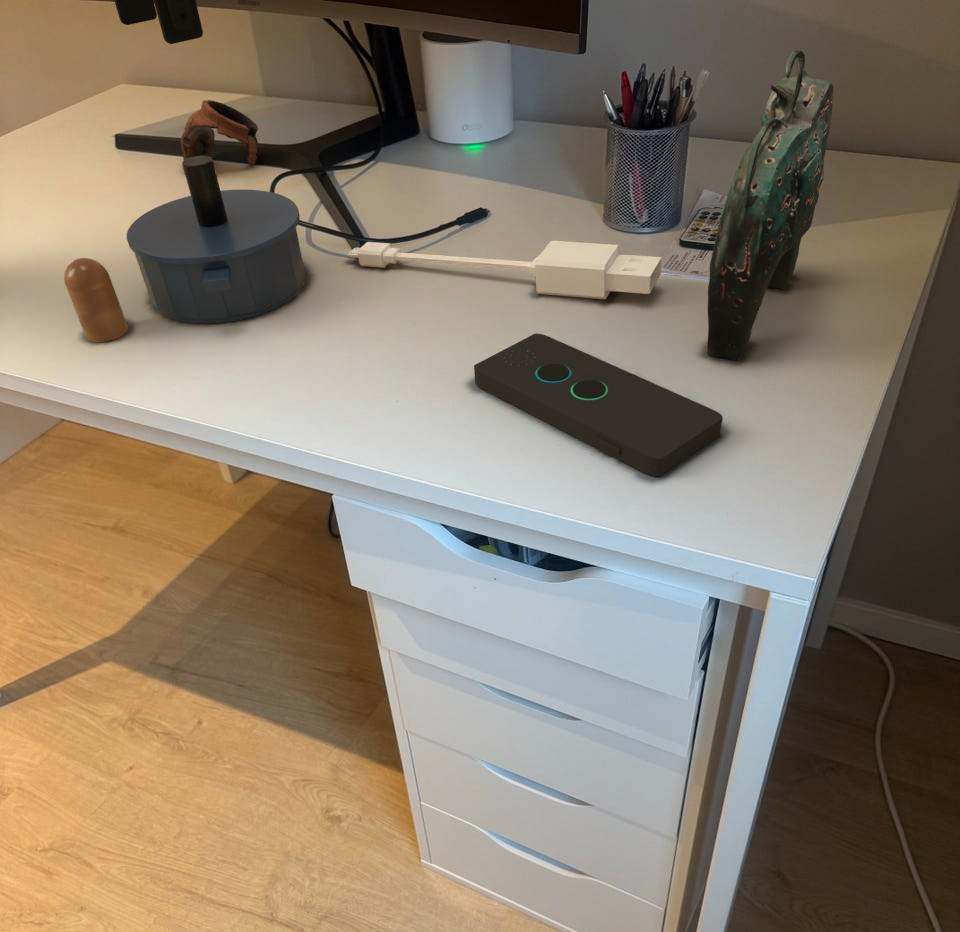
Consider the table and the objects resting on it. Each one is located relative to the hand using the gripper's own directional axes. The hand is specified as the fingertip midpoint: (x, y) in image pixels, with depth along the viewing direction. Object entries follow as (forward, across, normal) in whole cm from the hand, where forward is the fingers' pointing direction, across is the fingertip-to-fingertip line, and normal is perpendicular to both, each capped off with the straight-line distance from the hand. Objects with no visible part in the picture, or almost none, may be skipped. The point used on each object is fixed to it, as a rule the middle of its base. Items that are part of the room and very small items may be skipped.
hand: (161, 30), depth 76 cm
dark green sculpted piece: (+22, +40, +34) cm, 57 cm away
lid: (+16, 0, 0) cm, 16 cm away
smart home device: (+22, +42, +12) cm, 49 cm away
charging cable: (+22, +18, +21) cm, 36 cm away
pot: (+22, 0, 0) cm, 22 cm away
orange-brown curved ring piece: (+22, -34, +15) cm, 43 cm away
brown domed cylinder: (+22, 0, -13) cm, 26 cm away
